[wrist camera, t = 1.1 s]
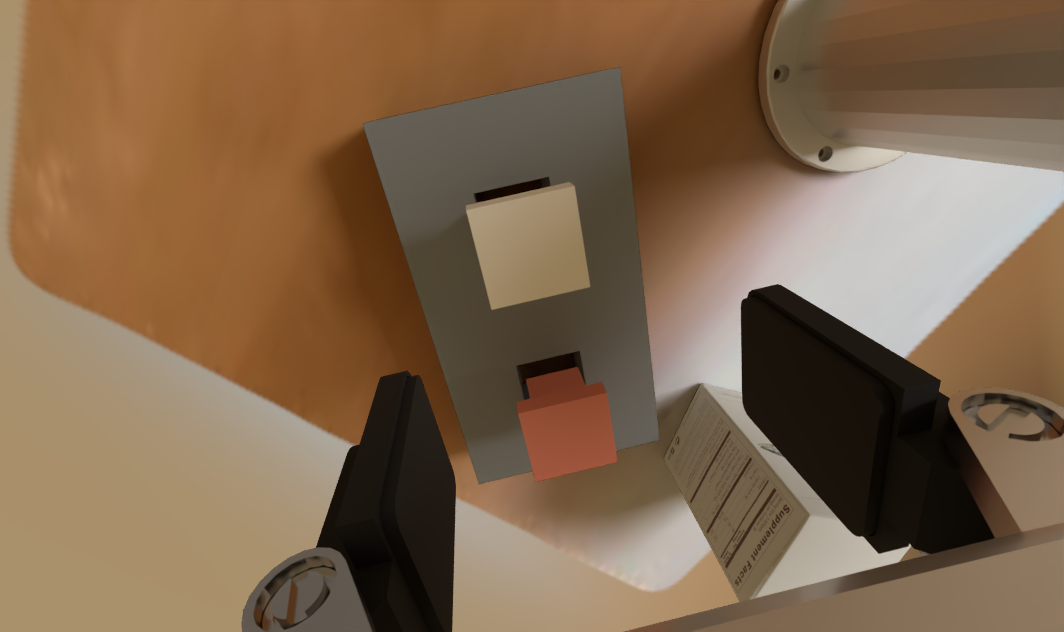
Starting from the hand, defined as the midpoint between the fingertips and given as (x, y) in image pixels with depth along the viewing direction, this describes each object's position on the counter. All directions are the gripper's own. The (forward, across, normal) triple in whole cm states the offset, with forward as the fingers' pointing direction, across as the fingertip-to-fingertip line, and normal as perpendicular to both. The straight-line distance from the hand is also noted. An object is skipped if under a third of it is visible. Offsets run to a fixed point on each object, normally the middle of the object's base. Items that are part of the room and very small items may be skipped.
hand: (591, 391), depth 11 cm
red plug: (+15, 0, +10) cm, 18 cm away
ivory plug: (+15, 0, 0) cm, 15 cm away
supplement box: (+20, -12, +20) cm, 31 cm away
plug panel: (+20, 0, +5) cm, 20 cm away
